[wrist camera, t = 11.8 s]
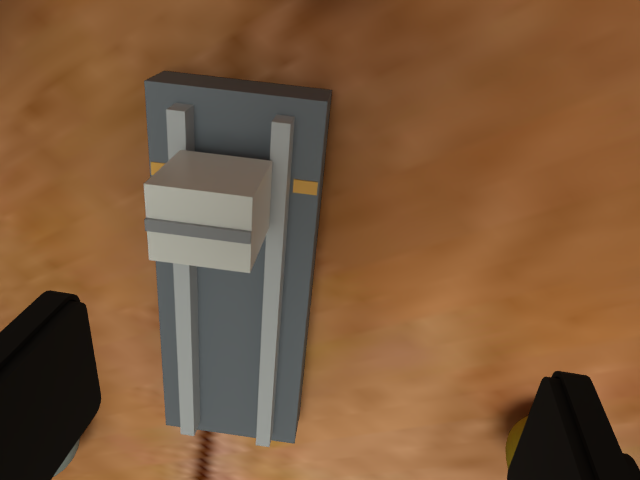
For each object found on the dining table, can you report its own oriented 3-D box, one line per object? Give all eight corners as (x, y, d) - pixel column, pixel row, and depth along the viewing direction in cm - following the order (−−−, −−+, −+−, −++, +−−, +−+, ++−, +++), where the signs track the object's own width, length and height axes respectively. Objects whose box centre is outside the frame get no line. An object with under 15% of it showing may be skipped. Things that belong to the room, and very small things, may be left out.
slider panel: (332, 90, 31) (325, 108, 27) (299, 414, 43) (291, 459, 39) (164, 70, 31) (132, 86, 27) (178, 396, 43) (158, 440, 40)
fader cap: (277, 151, 29) (251, 198, 24) (273, 216, 31) (249, 275, 25) (189, 141, 30) (142, 185, 24) (190, 206, 32) (147, 262, 26)
